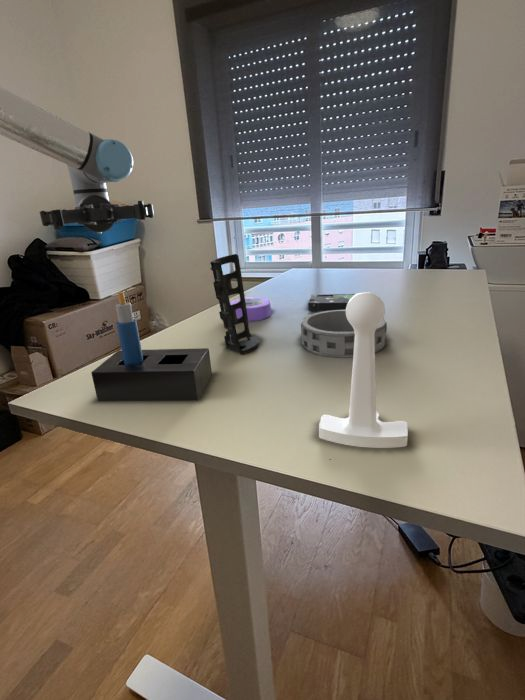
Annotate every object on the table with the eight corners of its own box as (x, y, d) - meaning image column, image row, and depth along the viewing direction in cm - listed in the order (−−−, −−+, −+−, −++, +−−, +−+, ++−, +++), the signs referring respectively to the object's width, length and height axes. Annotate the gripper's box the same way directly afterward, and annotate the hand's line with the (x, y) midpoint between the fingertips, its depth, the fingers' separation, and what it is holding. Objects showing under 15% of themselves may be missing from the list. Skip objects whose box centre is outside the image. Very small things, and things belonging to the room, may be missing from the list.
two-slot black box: (198, 404, 66) (193, 370, 64) (98, 404, 69) (91, 372, 67) (212, 378, 76) (208, 348, 74) (124, 379, 78) (118, 350, 76)
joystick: (317, 446, 53) (314, 297, 46) (325, 417, 60) (323, 283, 53) (407, 456, 50) (418, 297, 43) (404, 424, 57) (414, 282, 50)
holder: (258, 353, 86) (241, 258, 79) (223, 358, 86) (203, 264, 80) (260, 336, 96) (245, 251, 89) (229, 341, 97) (211, 257, 90)
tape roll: (274, 319, 110) (273, 305, 109) (231, 323, 108) (230, 309, 107) (267, 308, 121) (266, 295, 119) (228, 312, 119) (227, 299, 118)
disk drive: (308, 312, 114) (362, 311, 111) (307, 303, 113) (362, 301, 110) (311, 303, 123) (361, 302, 120) (310, 294, 122) (361, 292, 119)
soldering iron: (127, 395, 71) (106, 294, 65) (134, 387, 74) (115, 290, 68) (144, 394, 71) (125, 294, 65) (151, 386, 74) (133, 289, 68)
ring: (291, 335, 96) (290, 315, 94) (361, 325, 99) (361, 305, 98) (319, 363, 79) (319, 339, 77) (403, 349, 83) (404, 326, 81)
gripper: (156, 226, 95) (175, 230, 76) (38, 237, 86) (27, 244, 68) (151, 192, 92) (170, 187, 74) (28, 199, 83) (15, 196, 65)
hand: (102, 214), depth 71 cm, fingers open, 13 cm apart
